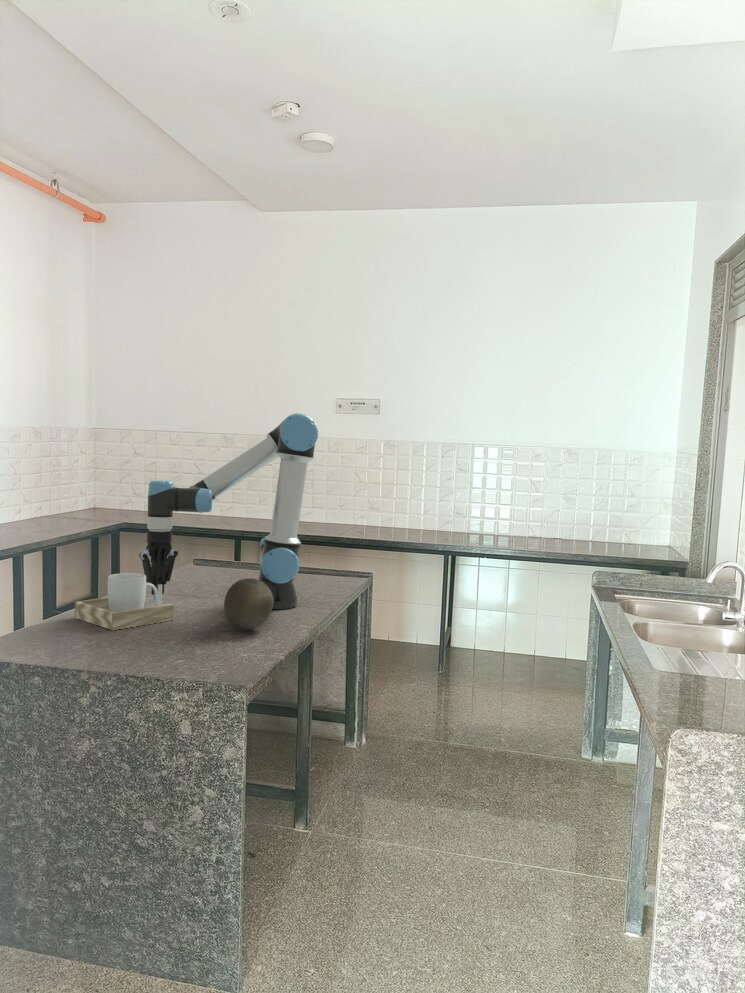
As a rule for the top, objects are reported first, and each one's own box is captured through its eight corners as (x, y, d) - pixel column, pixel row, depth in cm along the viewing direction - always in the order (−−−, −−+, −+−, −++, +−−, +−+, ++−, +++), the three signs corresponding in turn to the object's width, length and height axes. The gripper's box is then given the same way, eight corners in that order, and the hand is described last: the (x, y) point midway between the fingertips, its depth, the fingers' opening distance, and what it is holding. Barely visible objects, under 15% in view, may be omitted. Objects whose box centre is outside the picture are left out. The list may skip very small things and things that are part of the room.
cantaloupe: (225, 636, 205) (226, 583, 204) (221, 624, 219) (223, 575, 218) (275, 635, 209) (277, 583, 208) (268, 623, 223) (270, 574, 222)
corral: (173, 620, 222) (173, 604, 221) (113, 631, 206) (113, 613, 206) (133, 608, 235) (134, 593, 235) (74, 618, 219) (75, 601, 219)
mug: (150, 612, 232) (151, 571, 231) (163, 619, 223) (164, 576, 222) (102, 616, 223) (103, 574, 222) (113, 624, 214) (114, 580, 213)
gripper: (170, 527, 236) (167, 600, 237) (134, 529, 226) (132, 605, 227) (184, 530, 231) (181, 604, 232) (148, 532, 221) (146, 609, 222)
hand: (157, 604), depth 230 cm, fingers closed
